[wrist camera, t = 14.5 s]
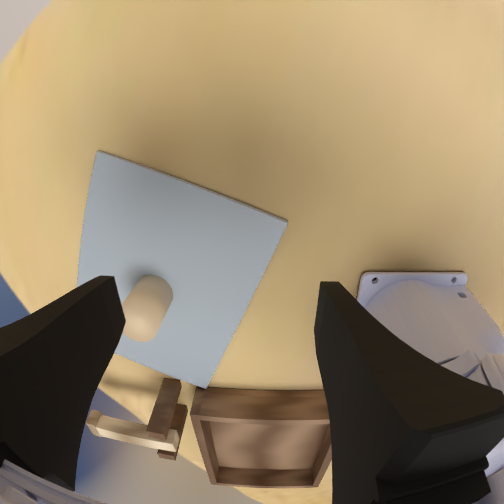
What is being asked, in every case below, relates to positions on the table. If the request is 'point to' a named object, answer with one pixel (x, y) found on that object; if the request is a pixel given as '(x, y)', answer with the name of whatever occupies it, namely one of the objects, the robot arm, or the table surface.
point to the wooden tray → (251, 434)
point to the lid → (174, 263)
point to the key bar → (129, 432)
